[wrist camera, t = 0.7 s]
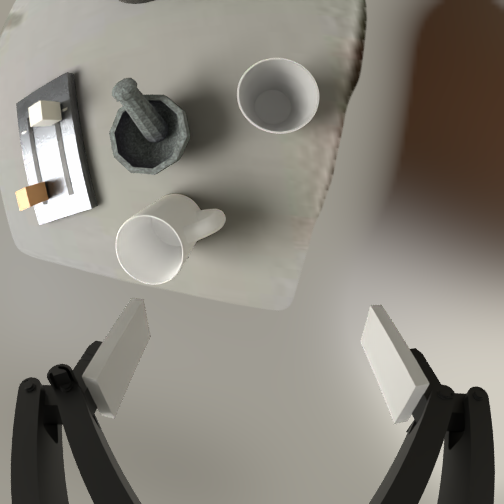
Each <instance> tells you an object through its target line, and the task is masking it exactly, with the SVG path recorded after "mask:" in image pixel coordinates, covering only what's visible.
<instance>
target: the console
mask: <svg viewBox="0 0 504 504" xmlns="http://www.w3.org/2000/svg"><path fill="white" fill-rule="evenodd" d="M40 100H44V101H55V102H60V108H61V116H62V120H61V121H59V122H57V123H55V124H53V125H51V126H39V127H30V119H29V110H28V108H29V107H30V106H32V105H34V104H35V103H37V102H38V101H40ZM16 105H17V117H18V126H19V134H20V141H21V148H22V154H23V160H24V165H25V170H26V175H27V180H28V184H29V186H31V185H34V184H37V183H41V182H45V187H46V191H47V195H48V200H46V201H43V202H41V203H38V204H36V205H34V209H35V212H36V216H37V220H38V223H39V225H42V224H44V223H47V222H50V221H53V220H56V219H59V218H62V217H66V216H69V215H72V214H75V213H78V212H81V211H85V210H88V209H91V208H93V207H95V206H98V205H97V201H96V197H95V193H94V189H93V185H92V181H91V177H90V172H89V168H88V163H87V158H86V154H85V148H84V143H83V138H82V132H81V126H80V120H79V113H78V106H77V98H76V90H75V80H74V74H72V73H68V72H67V73H65V74H63V75H61V76H59V77H58V78H56V79H54V80H52V81H51V82H49V83H47V84H46V85H44V86H42V87H41V88H39V89H38V90H36V91H35V92H33V93H31V94H30V95H28V96H27V97H25V98H24V99H22V100H21V101H19V102H18V103H17V104H16Z"/></svg>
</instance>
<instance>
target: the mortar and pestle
mask: <svg viewBox="0 0 504 504" xmlns="http://www.w3.org/2000/svg"><path fill="white" fill-rule="evenodd" d="M112 96H113V97H114V98H115V99H116V100H117V101H120V102H121V104H122V105H123V107H122V108H120V109H119V110H118V112H117V115H116V117H115V120H114V122H113V125H112V127H111V130H110V133H109V134H110V140H111V145H112V150H113V155H114V158H116V159H117V160H118V161H119V162H120V163H121V164H122V165H123V166H124V167H125V168H126V169H127V170H128V171H129V172H131V173H142V174H157V173H159V172H161V171H162V170H164V169H165V168H167V167H169V166H170V165H172V164H173V163H175V162H177V161H178V160H179V159H180V158H181V156H182V154H183V152H184V149H185V147H186V145H187V143H188V141H189V138H190V132H189V126H188V121H187V116H186V113H185V111H184V110H182V109H181V108H180V107H179V106H178V105H176V104H175V103H174V102H173V101H172V100H171V99H169V98H168V97H167V96H165V95H143V94H142V93H141V92H140V91H139V90H138V88H137V83H136V81H135V80H133V79H132V78H125V79H123V80H121V81H120V82H118V83H117V84H116V85H115V87H114V88H113V91H112Z"/></svg>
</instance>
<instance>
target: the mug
mask: <svg viewBox="0 0 504 504" xmlns="http://www.w3.org/2000/svg"><path fill="white" fill-rule="evenodd" d="M225 221H226V216H225V214H224V213H223V211H221V210H219V209H205V210H200V208H199V207H198V205H197V204H196V203H195V202H194V201H193V200H192V199H190V198H189V197H187V196H185V195H181V194H169V195H166V196H163V197H161V198H160V199H158V200H157V201H155V202H154V203H152V204H150V205H149V206H147V207H146V208H144V209H143V210H141V211H140V212H138V213H137V214H135V215H134V216H132V217H131V218H129V219H128V220H126V221H125V222H124V223H123V225H122V226H121V227H120V229H119V231H118V234H117V237H116V254H117V257H118V260H119V262H120V264H121V266H122V267H123V268H124V270H125V271H126V272H127V273H128V274H129V275H130V276H131V277H133V278H134V279H136V280H138V281H140V282H142V283H146V284H154V285H155V284H162V283H165V282H168V281H170V280H171V279H173V278H174V277H175V276H176V275H177V274H178V273H179V271H180V270H181V268H182V266H183V265H184V263H185V261H186V260H187V259H188V258H189V254H190V252H191V250H192V249H193V247H194V245H195V243H196V242H197V241H198V240H200V239H202V238H205V237H207V236H209V235H211V234H213V233H215V232H216V231H218V230H219V229H221V228H222V227H223V225H224V223H225Z"/></svg>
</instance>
